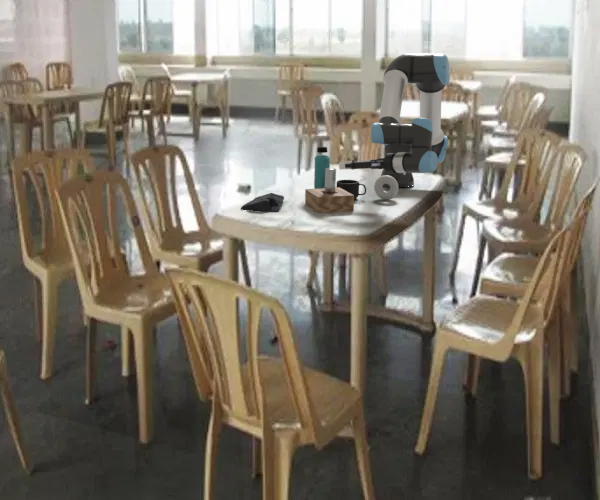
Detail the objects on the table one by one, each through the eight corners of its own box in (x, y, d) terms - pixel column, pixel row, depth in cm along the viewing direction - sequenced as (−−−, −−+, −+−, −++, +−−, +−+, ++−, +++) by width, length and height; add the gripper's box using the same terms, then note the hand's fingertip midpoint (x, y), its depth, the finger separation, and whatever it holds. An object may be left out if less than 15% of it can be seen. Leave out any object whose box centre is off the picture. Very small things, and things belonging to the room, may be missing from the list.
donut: (372, 199, 337) (373, 174, 335) (375, 197, 341) (376, 173, 338) (396, 201, 334) (397, 176, 331) (399, 200, 337) (400, 175, 334)
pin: (332, 203, 324) (334, 167, 320) (335, 205, 320) (337, 169, 316) (322, 203, 323) (324, 167, 319) (326, 206, 319) (327, 170, 315)
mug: (334, 200, 335) (334, 183, 333) (338, 196, 343) (338, 179, 342) (364, 202, 333) (365, 184, 331) (367, 197, 341) (367, 180, 339)
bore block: (339, 202, 331) (339, 187, 330) (353, 210, 317) (354, 195, 315) (305, 204, 327) (305, 189, 326) (318, 213, 312) (318, 197, 311)
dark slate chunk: (290, 202, 333) (290, 190, 332) (277, 213, 313) (277, 201, 311) (253, 200, 336) (252, 188, 335) (238, 211, 316) (238, 199, 314)
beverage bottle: (328, 197, 341) (329, 148, 336) (312, 196, 342) (312, 147, 337) (331, 194, 347) (332, 145, 342) (315, 193, 348) (315, 145, 343)
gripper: (379, 175, 300) (331, 176, 314) (415, 170, 320) (368, 172, 333) (378, 154, 299) (330, 156, 313) (414, 150, 319) (367, 153, 332)
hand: (350, 164), depth 323 cm, fingers open, 13 cm apart
